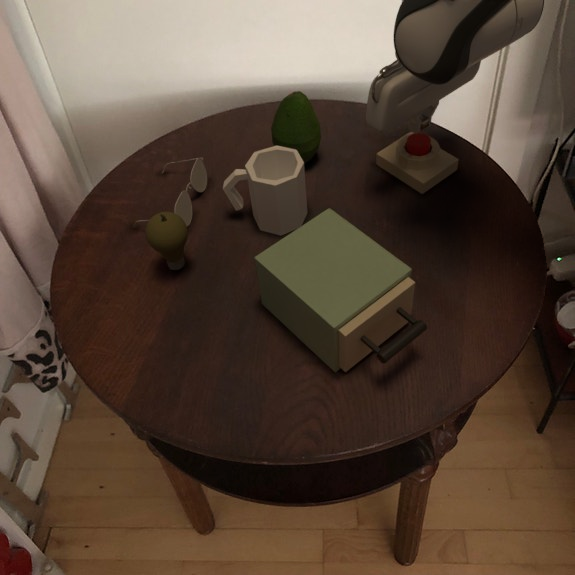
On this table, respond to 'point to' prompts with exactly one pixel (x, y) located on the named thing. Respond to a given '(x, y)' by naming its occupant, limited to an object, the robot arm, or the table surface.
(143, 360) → the table surface
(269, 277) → the cabinet
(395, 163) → the button block
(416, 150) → the button
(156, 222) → the light bulb
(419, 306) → the table surface
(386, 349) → the drawer
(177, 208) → the sunglasses
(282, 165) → the mug
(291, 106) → the fruit
